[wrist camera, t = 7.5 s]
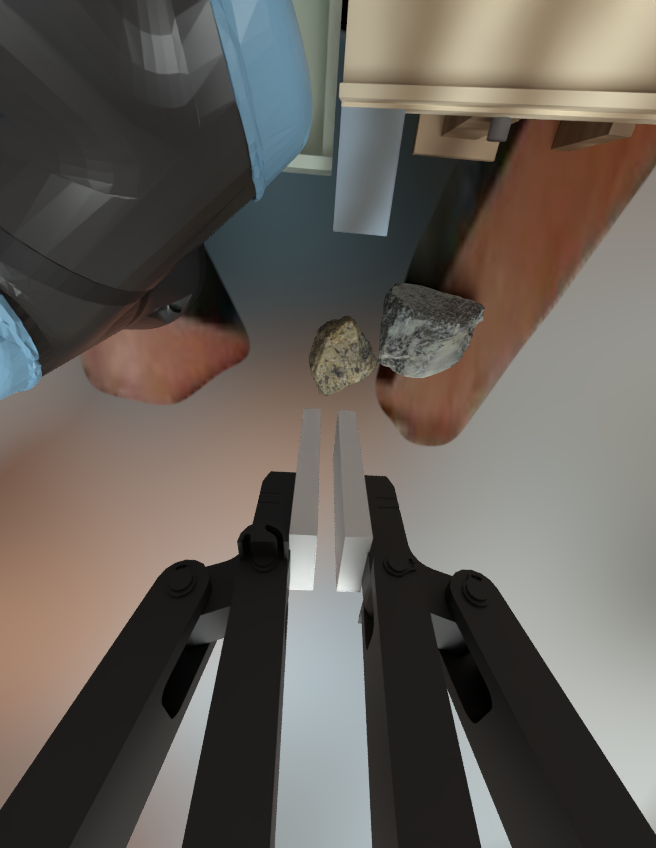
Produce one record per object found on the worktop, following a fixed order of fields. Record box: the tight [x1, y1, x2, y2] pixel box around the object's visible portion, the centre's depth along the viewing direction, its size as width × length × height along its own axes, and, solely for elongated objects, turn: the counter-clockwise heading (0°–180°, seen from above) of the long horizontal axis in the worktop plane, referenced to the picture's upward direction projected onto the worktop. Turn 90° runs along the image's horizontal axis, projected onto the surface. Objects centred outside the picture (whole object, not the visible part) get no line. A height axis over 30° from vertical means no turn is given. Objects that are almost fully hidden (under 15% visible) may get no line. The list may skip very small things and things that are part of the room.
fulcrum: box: [412, 114, 636, 162], centre depth 23 cm, size 14×8×8 cm, turn 86°
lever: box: [333, 0, 656, 236], centre depth 19 cm, size 20×14×4 cm
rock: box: [309, 316, 377, 396], centre depth 36 cm, size 7×8×4 cm
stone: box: [378, 283, 485, 378], centre depth 33 cm, size 10×10×10 cm
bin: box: [282, 0, 342, 176], centre depth 22 cm, size 12×12×7 cm
